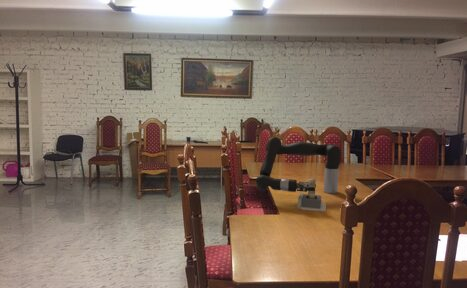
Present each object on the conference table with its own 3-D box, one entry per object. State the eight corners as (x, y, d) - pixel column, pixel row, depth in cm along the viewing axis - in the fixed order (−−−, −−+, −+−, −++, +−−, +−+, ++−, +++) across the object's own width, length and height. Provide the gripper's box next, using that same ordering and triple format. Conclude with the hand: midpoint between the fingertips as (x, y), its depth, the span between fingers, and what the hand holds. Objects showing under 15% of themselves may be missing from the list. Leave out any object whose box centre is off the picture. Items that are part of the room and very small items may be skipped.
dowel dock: (299, 202, 229) (300, 193, 228) (326, 204, 224) (326, 195, 224) (297, 208, 215) (298, 199, 215) (325, 211, 211) (325, 201, 210)
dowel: (308, 203, 222) (308, 178, 220) (314, 204, 221) (315, 178, 219) (307, 205, 219) (308, 179, 216) (314, 206, 218) (315, 180, 215)
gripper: (287, 181, 215) (315, 184, 211) (290, 176, 229) (316, 178, 224) (286, 194, 216) (314, 196, 212) (289, 188, 230) (315, 190, 225)
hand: (315, 187), depth 218 cm, fingers open, 8 cm apart
